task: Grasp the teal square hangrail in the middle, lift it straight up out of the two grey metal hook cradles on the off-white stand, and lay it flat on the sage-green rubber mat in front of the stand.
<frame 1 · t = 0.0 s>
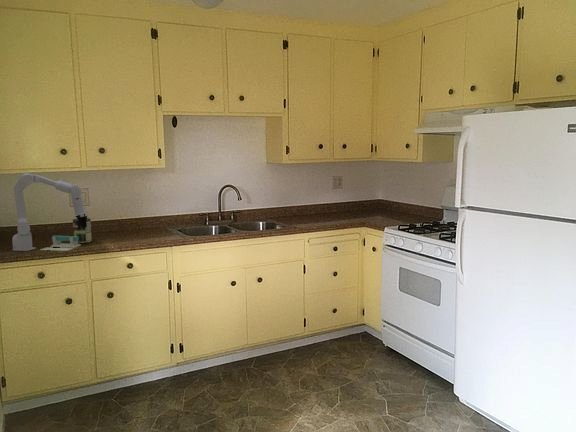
hand: (83, 226, 276), 11 cm above the worktop, tool pointing down, fingers open, 6 cm apart
stand: (65, 246, 270), on the worktop
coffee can: (83, 241, 286), on the worktop, touching gripper
rail: (65, 238, 270), point 5 cm above the worktop, touching stand
mat: (56, 249, 262), on the worktop
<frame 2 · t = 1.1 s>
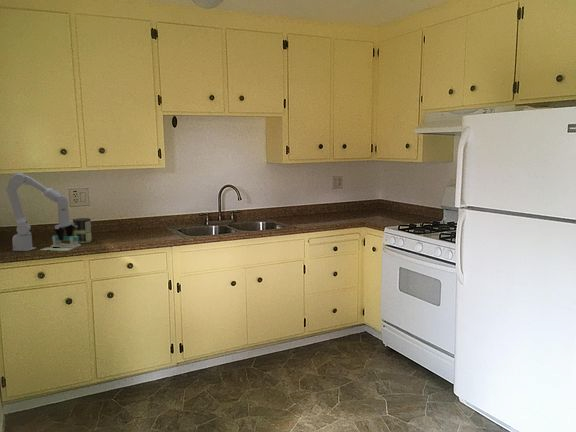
hand: (65, 239, 270), 5 cm above the worktop, tool pointing down, fingers open, 7 cm apart
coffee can: (83, 241, 286), on the worktop
everything else where it was.
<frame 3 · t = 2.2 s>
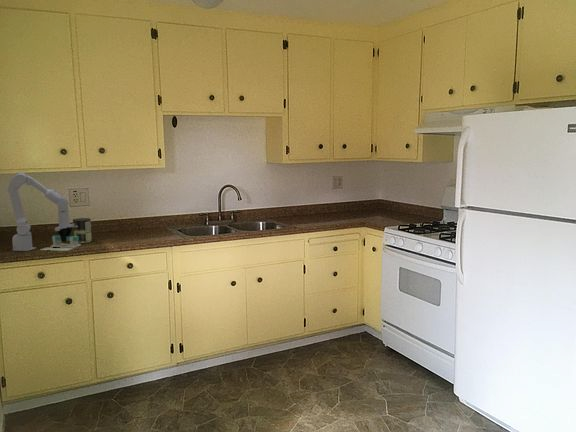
hand: (65, 240, 270), 3 cm above the worktop, tool pointing down, fingers closed on rail, 2 cm apart
rail: (65, 238, 270), point 5 cm above the worktop, touching gripper, stand
everything else where it was.
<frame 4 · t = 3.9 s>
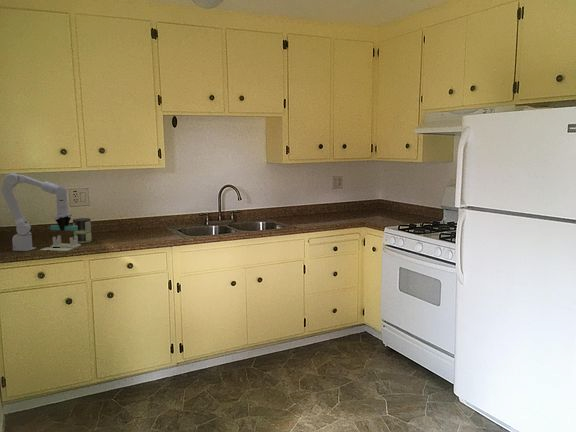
hand: (63, 229, 268), 10 cm above the worktop, tool pointing down, fingers closed on rail, 2 cm apart
rail: (63, 227, 268), point 11 cm above the worktop, touching gripper
everything else where it was.
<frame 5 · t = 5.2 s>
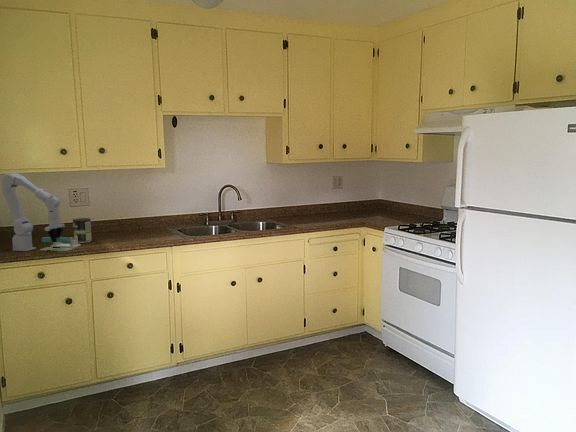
hand: (55, 241, 261), 5 cm above the worktop, tool pointing down, fingers closed on rail, 2 cm apart
rail: (55, 239, 261), point 6 cm above the worktop, touching gripper
everything else where it was.
when the fingers open (2 cm above the worktop, at t = 6.1 s): rail stays where it is, resting on mat.
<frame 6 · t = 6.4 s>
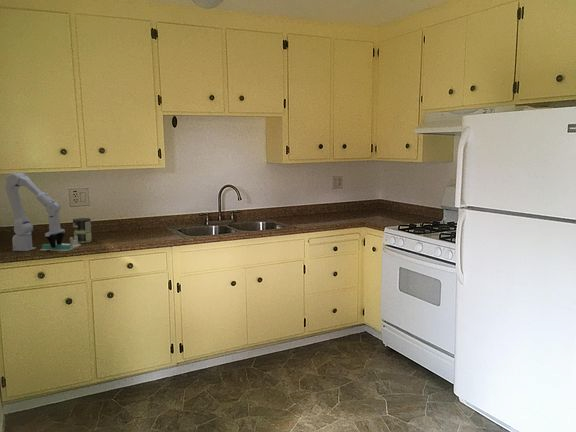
hand: (56, 246, 262), 2 cm above the worktop, tool pointing down, fingers open, 5 cm apart
rail: (56, 246, 262), point 2 cm above the worktop, touching mat
everything else where it was.
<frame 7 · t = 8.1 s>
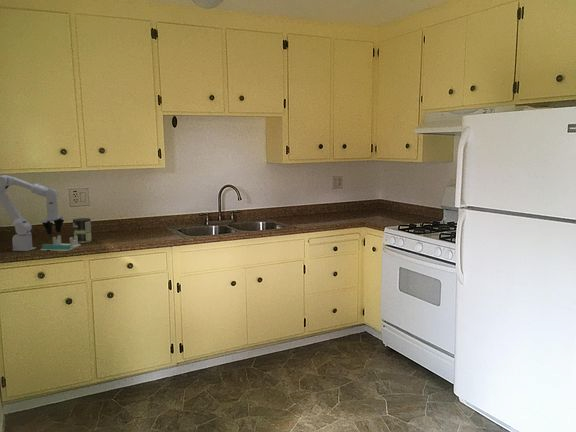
hand: (54, 233, 265), 9 cm above the worktop, tool pointing down, fingers open, 7 cm apart
nothing on the worktop moved.
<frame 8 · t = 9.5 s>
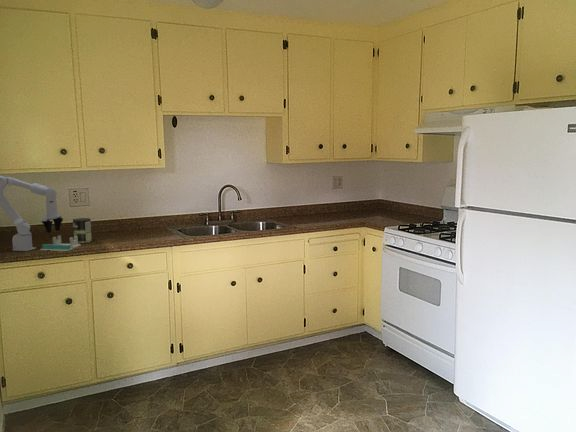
hand: (53, 231, 267), 9 cm above the worktop, tool pointing down, fingers open, 7 cm apart
nothing on the worktop moved.
at the end: rail inside the target area (0.0 cm from its centre), point 1.6 cm above the worktop; the gripper is holding nothing; rail touching mat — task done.
